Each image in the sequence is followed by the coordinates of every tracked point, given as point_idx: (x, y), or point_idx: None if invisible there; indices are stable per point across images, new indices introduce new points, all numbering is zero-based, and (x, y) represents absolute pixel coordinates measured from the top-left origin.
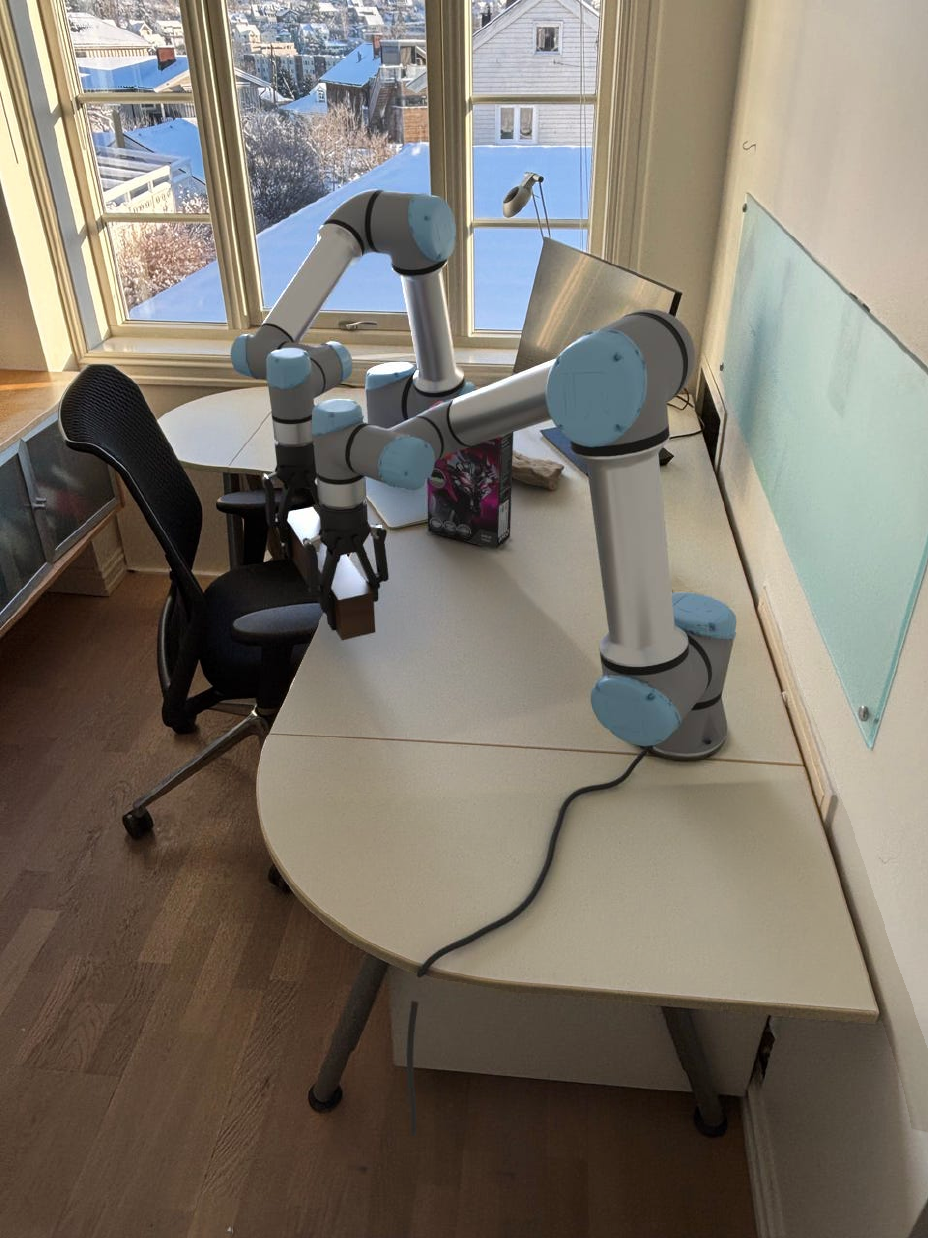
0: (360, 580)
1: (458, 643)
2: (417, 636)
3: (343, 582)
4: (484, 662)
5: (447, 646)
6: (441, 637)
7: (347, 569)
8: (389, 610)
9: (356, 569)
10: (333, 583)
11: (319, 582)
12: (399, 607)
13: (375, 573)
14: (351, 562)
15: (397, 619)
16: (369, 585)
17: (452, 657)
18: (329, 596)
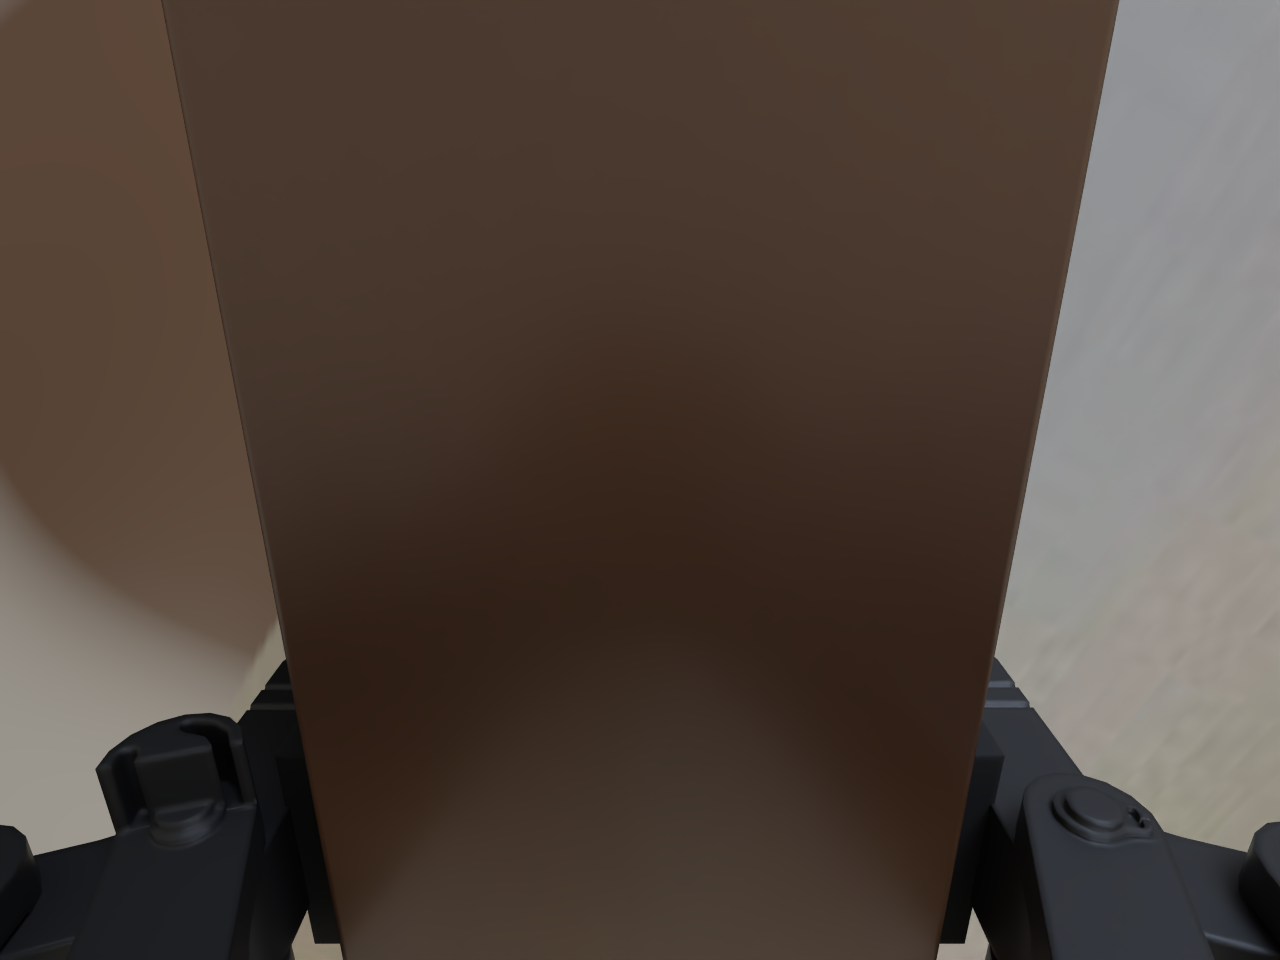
0: (879, 889)
1: (1258, 642)
2: (1092, 481)
3: (584, 848)
4: (1250, 829)
5: (1183, 643)
6: (1215, 550)
7: (834, 459)
8: (1117, 54)
9: (1005, 537)
10: (405, 818)
11: (77, 936)
12: (1215, 44)
13: (1212, 953)
14: (1071, 177)
15: (1096, 220)
16: (965, 868)
17: (1137, 738)
18: (321, 901)
